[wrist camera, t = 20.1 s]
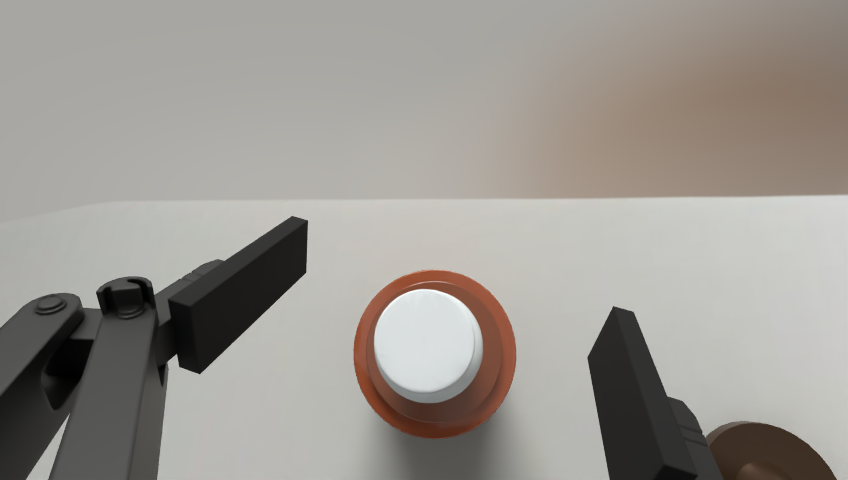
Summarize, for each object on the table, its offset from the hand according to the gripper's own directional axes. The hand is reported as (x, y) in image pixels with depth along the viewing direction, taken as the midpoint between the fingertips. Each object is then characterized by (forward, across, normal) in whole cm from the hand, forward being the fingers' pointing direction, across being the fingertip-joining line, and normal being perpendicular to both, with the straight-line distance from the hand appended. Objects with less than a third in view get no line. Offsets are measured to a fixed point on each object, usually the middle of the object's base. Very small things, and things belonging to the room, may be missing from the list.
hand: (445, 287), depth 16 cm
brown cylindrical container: (+9, 0, -12) cm, 16 cm away
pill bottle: (+2, 0, -5) cm, 6 cm away
